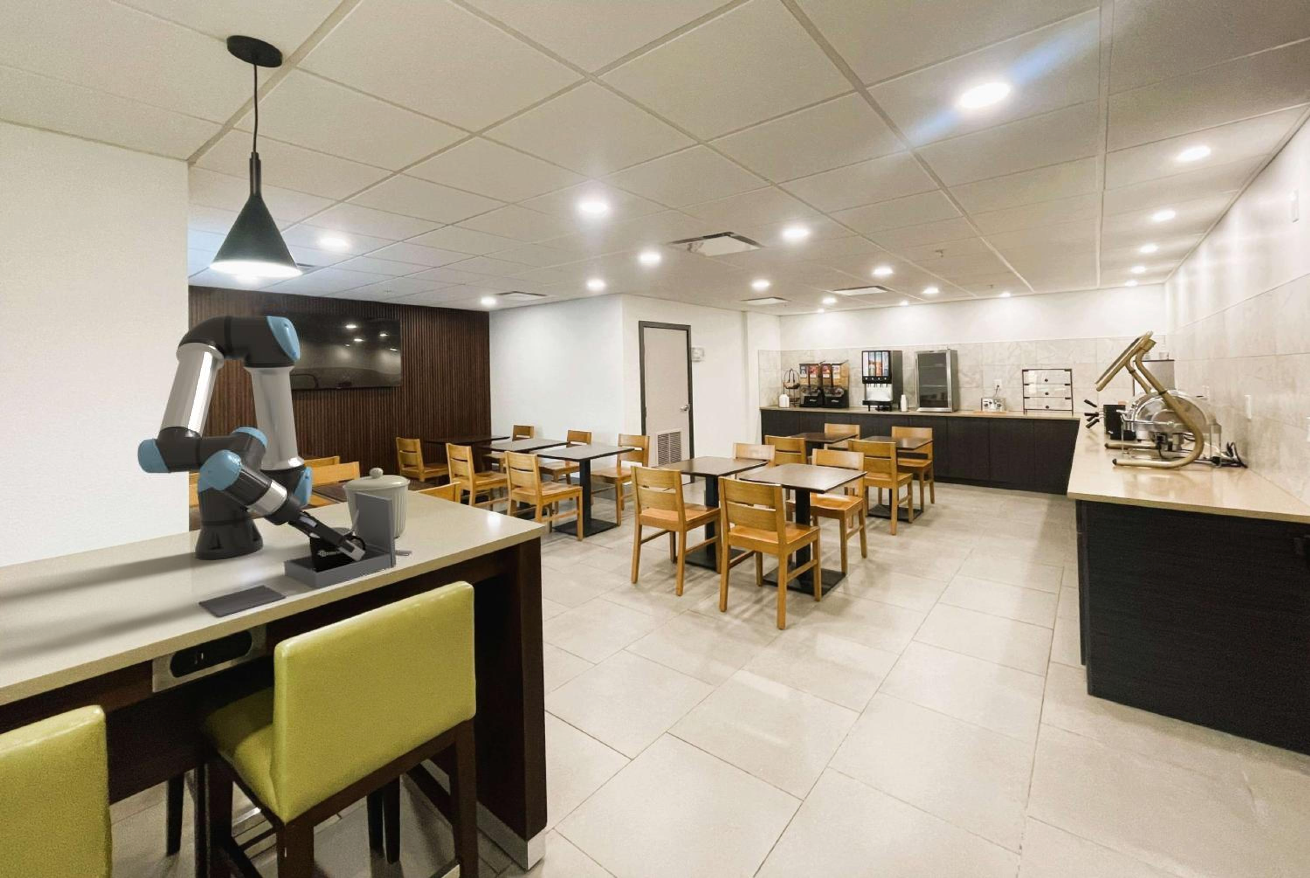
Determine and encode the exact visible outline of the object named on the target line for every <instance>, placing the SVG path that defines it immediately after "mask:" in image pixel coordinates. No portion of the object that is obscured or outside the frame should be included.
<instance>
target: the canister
mask: <svg viewBox="0 0 1310 878" xmlns="http://www.w3.org/2000/svg"><path fill="white" fill-rule="evenodd" d="M383 473H384V470H383V469H382V468H380V467H374V468H372V469H370V470H369V476H362V477H357V478H354V479H351V480H349V481H348V482H347V483H346V484H344V485H343V486H342V489H343V490H344V491H345V495H346V502H347V506H348V511H349V516H350V521H351V526H352V525H353V522H354V519H355V515H356V506H355V493H356V492H360V493H365V494H369V495H374V496H379V497H383V498H388V499H392V506H393V522H394V538H397V537H399V536H401V535H402V534H403V532H404V530H405V528H406V520H407V510H408V509H407V508H408V493H409V492H408V491H409V490H408V488H409V484H410V483H411V480H410V479H408V478H406V477H404V476H401V475H393V474H391V475H390V474H386V475H385V474H383ZM353 534H354V536H358V534H357V523H356V526H355V529H354V532H353Z"/></svg>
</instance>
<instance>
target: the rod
mask: <svg viewBox="0 0 1310 878" xmlns="http://www.w3.org/2000/svg"><path fill="white" fill-rule="evenodd" d="M395 553H396V554H408V555H407V556H410V555H409V554H411V553H412V554H413V551H412V550H404V549H403V550H402V549H400V550H399V549H395ZM412 554H411V555H412Z"/></svg>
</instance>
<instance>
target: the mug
mask: <svg viewBox="0 0 1310 878" xmlns="http://www.w3.org/2000/svg"><path fill="white" fill-rule="evenodd" d="M330 528H331V529H333V530H334V531H336V532H338V533H339V534H341V535H342V536H344V537H347V540H348V541H350V542H351V543H352V542H353V541H354V540H357V541H358V540H359V541H360V542H361V543H362V545H363V549H362V550H363V551H365V549H366V545H365V542H364V541H363V539H361V538H360V537H358V536H356V535H355V534H353V535H352V533H351V528H349V527H343V526H334V527H332V526H331V527H330ZM308 538H309V540H308V541H309V549H310V550H309V551H310V555H311V557H312V562H313V566H314V569H313V570H314V571H315V572H317V573H319V572H323V571H327V570H330V569H334V568H338V567H341V566H345V565H349V564H352V563H354V562H357V561H356V560H354V559H353V558H351V557H350V556H348V555H347V554H345V553H343V552H342V551H340V550H339V549H338V550H337V551H336V550H334V549H335V548H336V547H335V546H334V545H333V544H331V543H329V542H327V541H326V540H324V539H322V538H320V537H319V536H317V535H315V534H313V533H311V534H309V537H308Z"/></svg>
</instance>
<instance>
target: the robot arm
mask: <svg viewBox="0 0 1310 878" xmlns="http://www.w3.org/2000/svg"><path fill="white" fill-rule="evenodd" d="M181 338H182V339H181V340H180V341H179V343H178V346H177V349H176V352H175V356H176V359H177V360H178V365H177V368H176V372H175V375H174V379H173V382H172V386H171V390H170V393H169V396H168V400H167V404H166V407H165V410H164V414H163V418H162V421H161V424H160V427H159V431H158V435H157V438H150V439H149V438H148V439H144V440H142V441H141V442H140V443H139V445H138V447H137V452H136V453H137V462H138V464H139V466H140V468H141V469H142V470H143V472H145V473H148V474H172V473H187V472H189V473H190V472H199V473H198V475H199V476H198V477H197V478H196V488H197V490H196V494H197V501H198V509H199V510H198V511H199V519H200V531H199V534H198V538H197V541H196V544H195V547H194V550H195V553H194V554H195V558H196V559H200V560H201V559H202V560H218V559H220V560H221V559H226V558H233V557H239V556H243V555H244V556H245V555H247V554H251V553H254V552H257V551H259V550H261V549H262V548H263V547H264V539H263V536H262V535H261V533H260V531H259V528H258V527H257V525H256V522H255V521H254V513H255V514H256V515H259V516H262V518H263V519H264V520H266V521H268V522H269V523H270V524H273V525H274V526H282V525H285V524H286V523H287V525H289V526H291V527H293V528H294V529H296V530H298V531H299V532H301V533H303V534H304V535H306V536H307V537H308V538H309V534H311V533H313V534H315V535H317V536H319V537H320V538H322V539H324V540H326V541H327V542H329V543H331V544H333V545H334V546H335V547H336V548H335V549H334V550H336V551H337V550H338V549H339V550H340V551H342V552H343V553H345V554H347V555H348V556H350V557H351V558H353V559H354V560H356V561H355V562H360V560H361V559H360V558H361V557H362V556H363V555H364V553H365V551H363V550H362V549H360V548H359V547H357V546H356V545H354V544H355V543H351V542H350V541H348V540H347V537H344V536H342V535H341V534H339V533H338V532H336V531H334V530H333V529H331V527H330V526H328V525H326V524H325V523H323V522H321V521H320V520H319V519H317V518H316V517H315V516H313V515H311V513H309V512H308V511H305V510H304V511H303V510H301V508H305V507H306V506H308V504H309V503H310V500H311V495H312V491H313V480H314V479H313V477H314V473H313V468H312V467H311V466H306V462H305V459H303V458H302V457H301V456H299V454H298V445H297V435H296V427H295V416H294V409H293V397H292V389H291V379H290V372H291V371H293V369H294V368H295V362H297V361H299V360H300V358H301V351H300V350H301V347H300V343H299V339H298V335H297V331H296V329H295V327H294V325H293V323H292V322H291V321H290V320H289V318H286V317H283V316H282V317H281V316H275V315H274V316H272V315H230V314H219V315H214V316H211V317H208V318H205V319H204V320H201V321H200V322H198V323H197V324H195V325H194V326H192V327H191V328H189V330H188V331H187V332H186V333H185V334H184V335H183V337H181ZM225 361H242V367H243V369H245V370H246V371H247V372H249V373H250V375H251V376H250V377H251V384H252V393H253V399H254V408H255V415H256V425H257V428H255V427H252V426H251V427H250V426H243V427H239V428H235V429H234V430H233V431H232V432H231V433H230V434H229V435H223V436H221V435H220V436H203V434H204V428H205V425H206V421H207V416H208V413H209V412H208V411H209V407H210V403H211V401H212V400H211V399H212V395H213V390H214V388H215V387H214V385H215V383H216V382H215V381H216V378H217V374H218V370H220V369H222V368H223V366H224V364H225Z"/></svg>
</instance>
